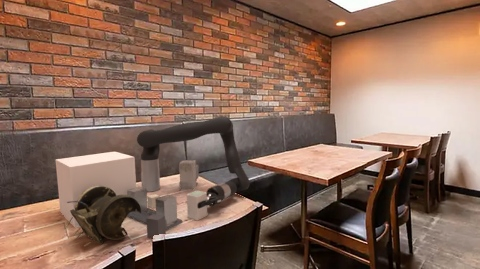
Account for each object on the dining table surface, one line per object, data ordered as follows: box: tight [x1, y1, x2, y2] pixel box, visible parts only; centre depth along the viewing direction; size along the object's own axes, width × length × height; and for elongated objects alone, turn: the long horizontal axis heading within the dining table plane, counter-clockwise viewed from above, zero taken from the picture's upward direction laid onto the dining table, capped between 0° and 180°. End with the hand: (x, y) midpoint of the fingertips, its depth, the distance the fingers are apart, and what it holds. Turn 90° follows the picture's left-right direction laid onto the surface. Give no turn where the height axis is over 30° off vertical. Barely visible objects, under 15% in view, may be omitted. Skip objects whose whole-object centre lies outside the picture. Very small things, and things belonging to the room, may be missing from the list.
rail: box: [127, 186, 183, 231], centre depth 109 cm, size 26×9×11 cm, turn 55°
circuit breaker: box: [178, 159, 200, 191], centre depth 153 cm, size 8×14×15 cm, turn 174°
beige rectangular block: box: [147, 193, 161, 210], centre depth 123 cm, size 4×4×5 cm
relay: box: [146, 214, 167, 239], centre depth 96 cm, size 5×4×7 cm
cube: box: [55, 151, 137, 229], centre depth 118 cm, size 25×21×24 cm
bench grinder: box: [64, 186, 141, 247], centre depth 95 cm, size 20×22×20 cm
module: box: [186, 189, 208, 221], centre depth 111 cm, size 6×6×10 cm
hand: (192, 204), depth 109 cm, fingers closed on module, 5 cm apart
